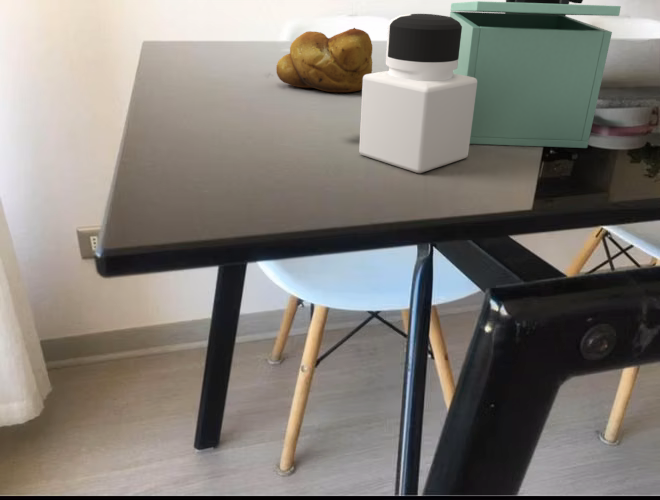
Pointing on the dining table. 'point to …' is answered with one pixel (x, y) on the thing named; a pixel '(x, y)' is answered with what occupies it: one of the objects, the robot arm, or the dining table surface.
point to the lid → (536, 8)
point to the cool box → (532, 77)
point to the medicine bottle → (418, 97)
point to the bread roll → (328, 61)
